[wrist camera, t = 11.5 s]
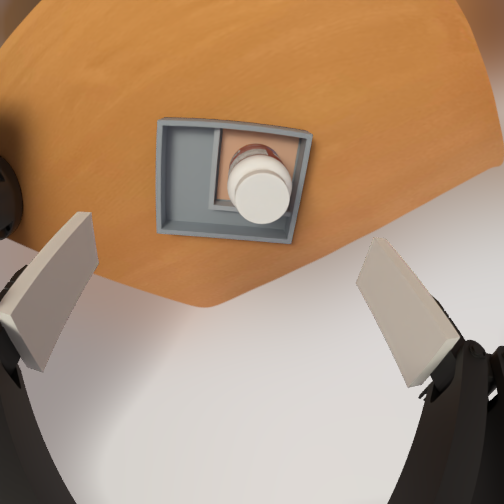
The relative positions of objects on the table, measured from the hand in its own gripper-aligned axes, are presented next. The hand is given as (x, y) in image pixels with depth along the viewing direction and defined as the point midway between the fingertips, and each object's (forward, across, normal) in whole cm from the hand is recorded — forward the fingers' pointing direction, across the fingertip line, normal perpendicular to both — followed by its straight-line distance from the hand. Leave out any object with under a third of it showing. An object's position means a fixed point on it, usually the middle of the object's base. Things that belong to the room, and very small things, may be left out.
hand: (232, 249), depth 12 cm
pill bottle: (+23, +3, -2) cm, 23 cm away
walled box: (+24, 0, -4) cm, 24 cm away
